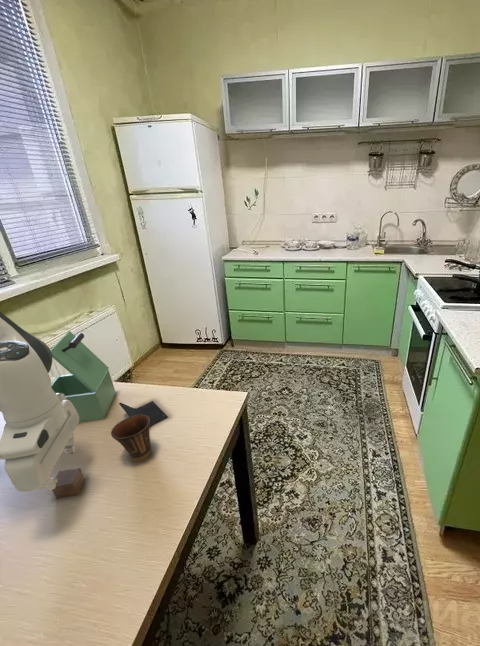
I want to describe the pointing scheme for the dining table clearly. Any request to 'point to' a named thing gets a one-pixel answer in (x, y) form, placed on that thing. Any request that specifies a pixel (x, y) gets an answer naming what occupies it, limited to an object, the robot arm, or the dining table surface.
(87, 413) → the green open box
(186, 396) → the dining table surface
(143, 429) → the cup
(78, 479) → the block
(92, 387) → the lid
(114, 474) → the dining table surface
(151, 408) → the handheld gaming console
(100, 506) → the dining table surface
